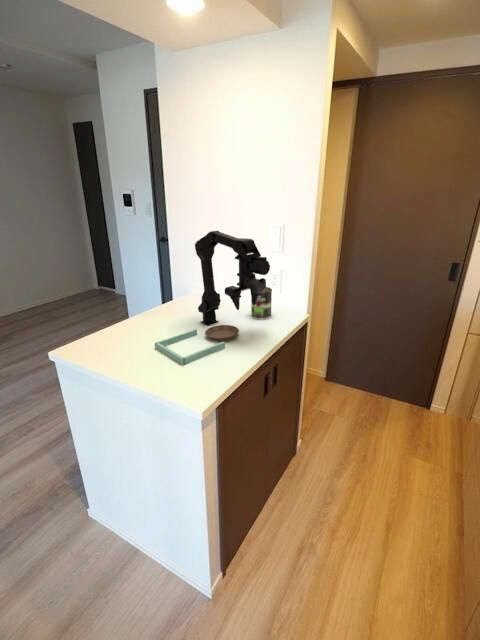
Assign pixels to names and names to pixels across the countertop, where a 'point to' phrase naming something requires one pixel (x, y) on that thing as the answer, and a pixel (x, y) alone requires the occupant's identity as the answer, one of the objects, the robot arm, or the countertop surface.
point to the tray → (191, 357)
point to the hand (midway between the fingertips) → (246, 307)
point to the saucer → (222, 332)
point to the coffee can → (262, 305)
